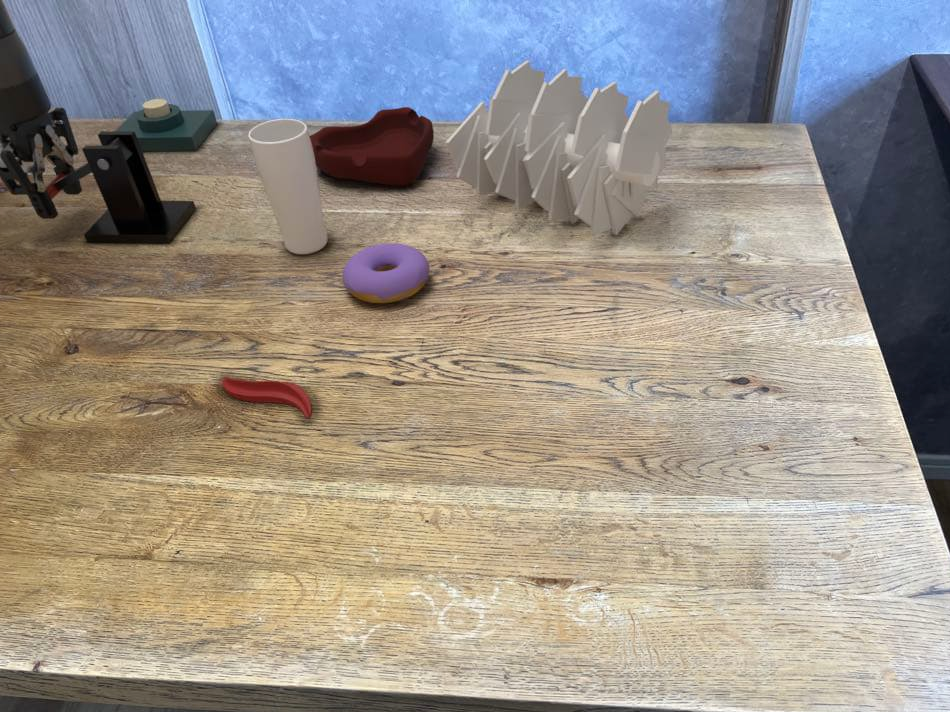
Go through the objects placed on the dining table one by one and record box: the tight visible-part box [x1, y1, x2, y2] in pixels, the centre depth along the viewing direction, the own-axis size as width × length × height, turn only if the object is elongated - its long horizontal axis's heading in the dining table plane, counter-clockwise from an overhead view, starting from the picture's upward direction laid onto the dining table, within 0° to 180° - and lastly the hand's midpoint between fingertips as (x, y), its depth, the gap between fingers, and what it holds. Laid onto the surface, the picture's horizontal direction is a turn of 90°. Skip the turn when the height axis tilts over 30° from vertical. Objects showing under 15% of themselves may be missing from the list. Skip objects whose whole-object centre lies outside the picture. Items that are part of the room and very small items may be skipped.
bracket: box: [81, 130, 197, 244], centre depth 104 cm, size 11×9×12 cm
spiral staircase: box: [444, 60, 674, 237], centre depth 101 cm, size 18×18×25 cm
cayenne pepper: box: [221, 376, 313, 419], centre depth 81 cm, size 12×5×2 cm, turn 52°
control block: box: [115, 103, 218, 152], centre depth 127 cm, size 13×10×4 cm
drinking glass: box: [247, 118, 329, 255], centre depth 98 cm, size 7×7×15 cm
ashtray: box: [309, 106, 435, 188], centre depth 116 cm, size 18×16×5 cm
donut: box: [342, 242, 430, 304], centre depth 94 cm, size 10×9×5 cm
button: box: [142, 98, 171, 118], centre depth 125 cm, size 4×4×2 cm
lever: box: [44, 138, 133, 200], centre depth 103 cm, size 13×5×2 cm, turn 86°
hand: (62, 204), depth 107 cm, fingers open, 5 cm apart
